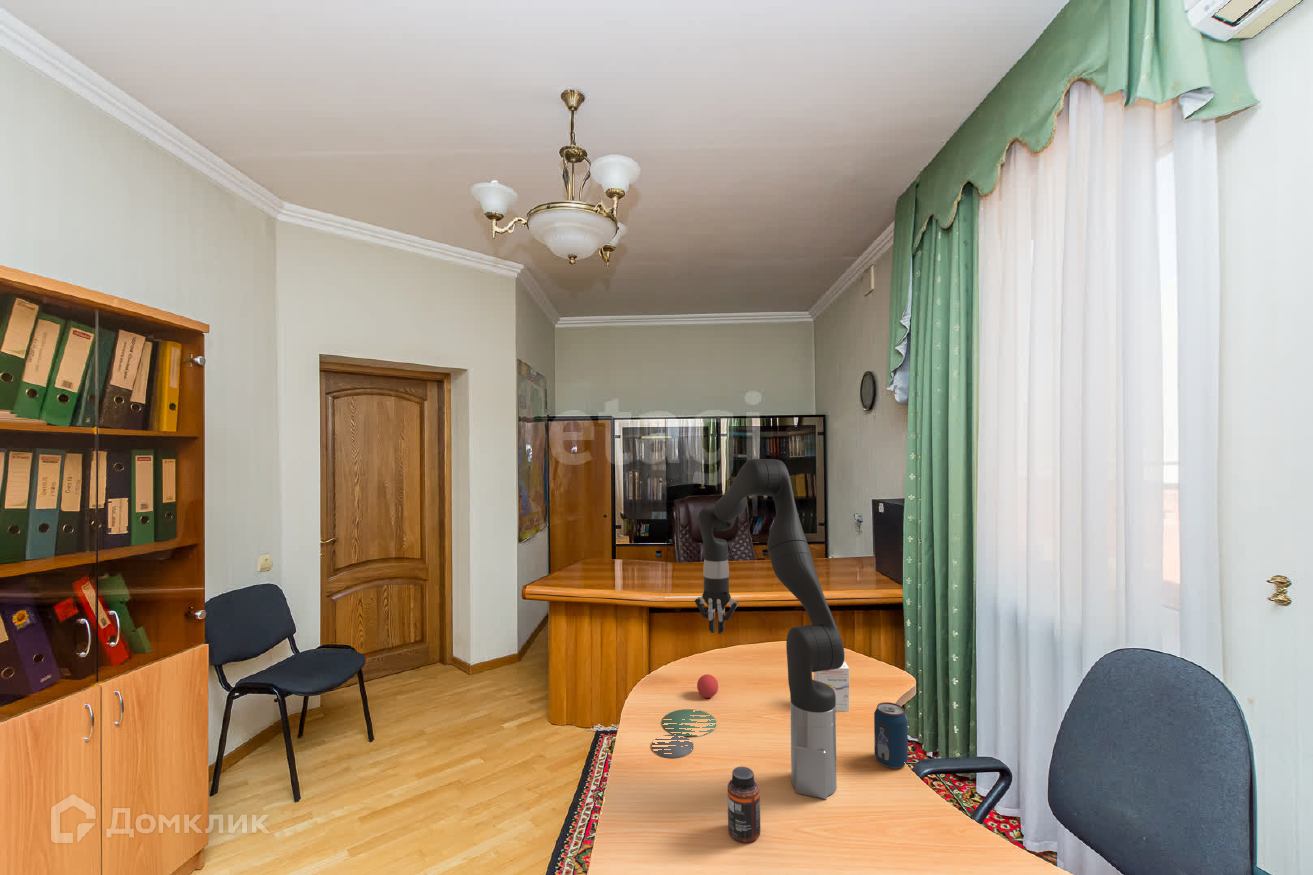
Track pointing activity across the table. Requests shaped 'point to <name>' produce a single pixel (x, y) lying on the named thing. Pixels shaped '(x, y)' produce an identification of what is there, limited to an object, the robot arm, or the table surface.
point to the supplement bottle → (743, 805)
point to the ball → (707, 686)
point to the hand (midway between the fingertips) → (716, 632)
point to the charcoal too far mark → (674, 747)
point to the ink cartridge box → (837, 684)
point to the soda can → (890, 735)
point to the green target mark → (686, 721)
